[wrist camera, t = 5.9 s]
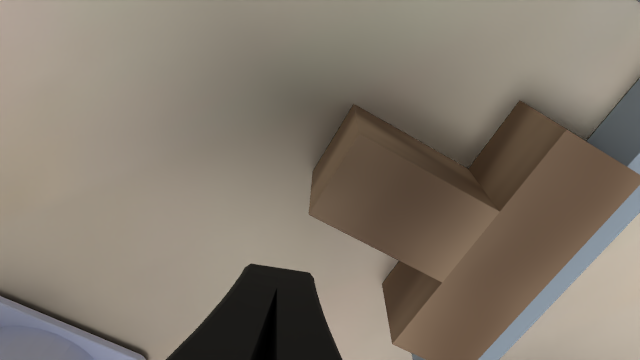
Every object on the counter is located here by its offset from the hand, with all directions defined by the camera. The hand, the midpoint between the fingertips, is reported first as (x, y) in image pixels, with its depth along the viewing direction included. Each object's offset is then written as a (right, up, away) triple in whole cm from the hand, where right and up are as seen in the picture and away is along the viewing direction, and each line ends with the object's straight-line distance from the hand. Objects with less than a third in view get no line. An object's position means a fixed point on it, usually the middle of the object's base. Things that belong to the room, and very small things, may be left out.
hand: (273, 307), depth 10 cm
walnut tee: (+5, +2, +8) cm, 10 cm away
